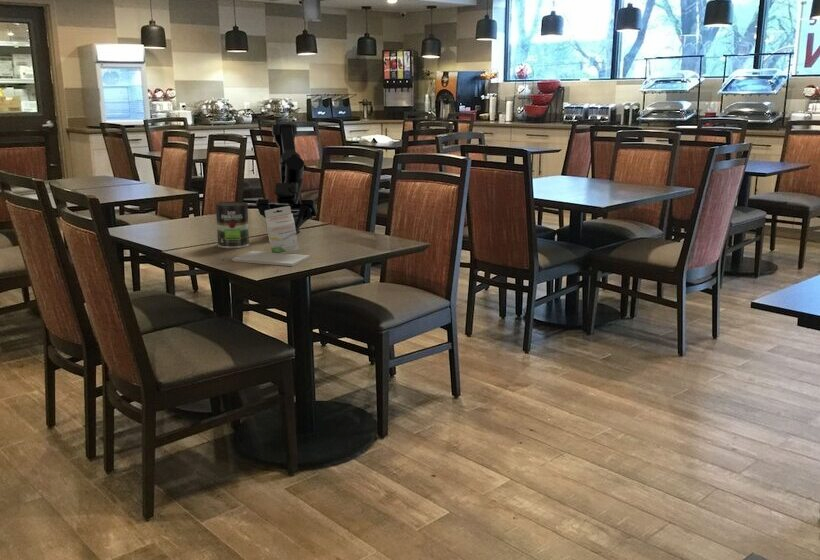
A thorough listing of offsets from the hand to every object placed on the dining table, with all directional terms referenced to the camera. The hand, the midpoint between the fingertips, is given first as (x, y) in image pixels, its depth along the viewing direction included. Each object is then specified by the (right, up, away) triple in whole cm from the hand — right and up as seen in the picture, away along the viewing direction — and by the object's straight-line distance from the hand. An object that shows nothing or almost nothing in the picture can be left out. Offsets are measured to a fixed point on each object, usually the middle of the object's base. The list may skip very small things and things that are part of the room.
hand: (281, 228), depth 230 cm
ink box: (0, -6, +5) cm, 8 cm away
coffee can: (-19, -5, +16) cm, 25 cm away
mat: (-2, -10, -4) cm, 11 cm away
